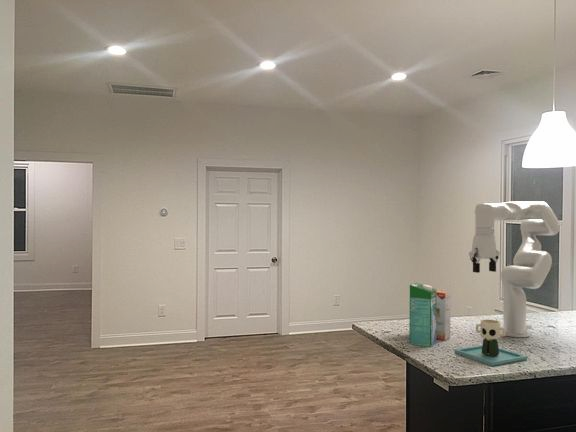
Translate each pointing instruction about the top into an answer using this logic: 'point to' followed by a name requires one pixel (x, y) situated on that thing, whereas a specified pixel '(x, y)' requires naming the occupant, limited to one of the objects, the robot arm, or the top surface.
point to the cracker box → (443, 315)
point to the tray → (497, 360)
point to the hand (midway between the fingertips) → (484, 271)
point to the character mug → (490, 335)
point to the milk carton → (422, 314)
